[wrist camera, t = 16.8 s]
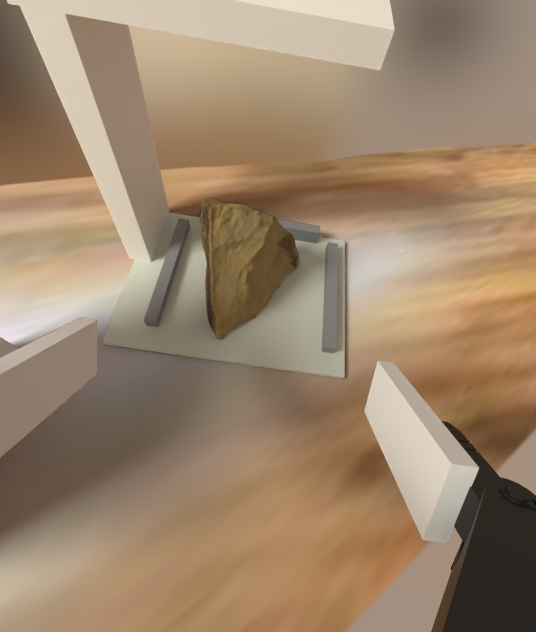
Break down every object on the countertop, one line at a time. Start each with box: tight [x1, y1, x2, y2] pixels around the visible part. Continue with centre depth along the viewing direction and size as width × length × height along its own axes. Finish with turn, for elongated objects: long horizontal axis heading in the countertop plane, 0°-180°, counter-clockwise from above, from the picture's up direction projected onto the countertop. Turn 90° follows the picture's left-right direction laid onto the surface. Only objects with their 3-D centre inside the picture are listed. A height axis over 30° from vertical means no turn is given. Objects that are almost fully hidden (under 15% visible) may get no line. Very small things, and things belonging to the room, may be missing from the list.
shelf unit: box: [7, 0, 394, 379], centre depth 22 cm, size 21×15×20 cm
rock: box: [201, 198, 300, 340], centre depth 27 cm, size 11×9×10 cm
